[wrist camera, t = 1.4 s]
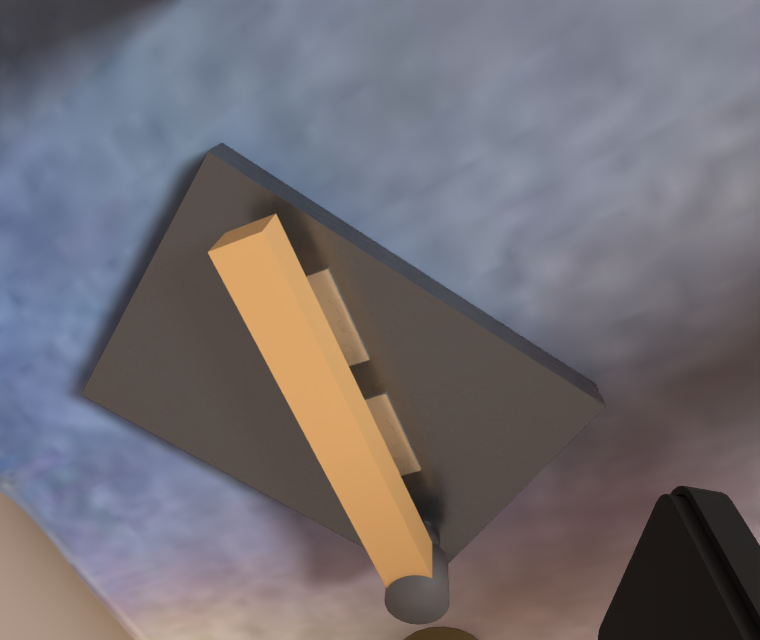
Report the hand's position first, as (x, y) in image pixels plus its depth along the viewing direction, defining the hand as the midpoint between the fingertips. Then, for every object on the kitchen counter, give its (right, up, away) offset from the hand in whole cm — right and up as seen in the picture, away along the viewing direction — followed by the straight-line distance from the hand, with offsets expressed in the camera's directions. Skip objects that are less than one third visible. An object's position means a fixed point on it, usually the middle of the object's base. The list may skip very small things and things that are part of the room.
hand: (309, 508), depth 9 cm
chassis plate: (-1, -1, +25) cm, 26 cm away
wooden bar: (0, -2, +22) cm, 22 cm away
